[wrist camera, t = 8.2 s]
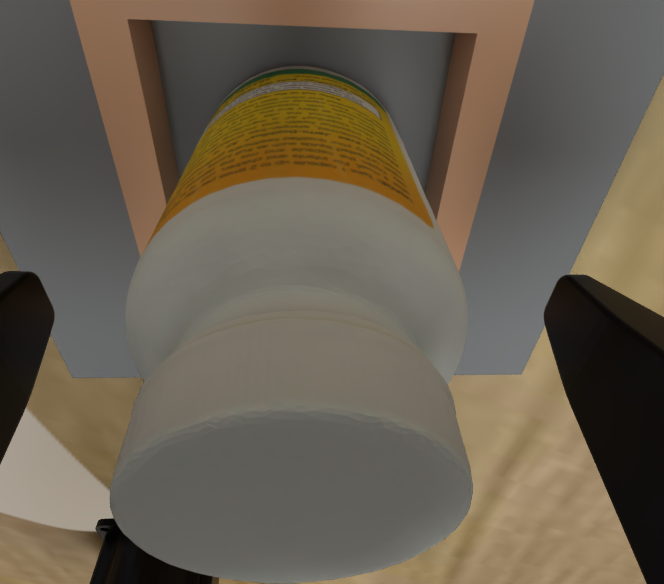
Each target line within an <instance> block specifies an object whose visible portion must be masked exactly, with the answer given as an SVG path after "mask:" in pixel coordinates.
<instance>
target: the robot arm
mask: <svg viewBox="0 0 664 584" xmlns="http://www.w3.org/2000/svg"><path fill="white" fill-rule="evenodd" d="M54 319H55V313H54V308H53V306H52V304H51V302H50V299H49V297H48V295H47V293H46V291H45V289H44V287H43V284H42V282H41V280H40V278H39V277H38V276H37V275H36V274H35V273H33V272H30V271H7V272H4V273H1V274H0V464H1V461H2V459H3V457H4V455H5V453H6V450H7V448H8V446H9V444H10V441H11V439H12V437H13V435H14V433H15V431H16V428H17V426H18V424H19V422H20V419H21V417H22V415H23V413H24V410H25V408H26V406H27V403H28V401H29V398H30V395H31V393H32V390H33V387H34V384H35V381H36V378H37V375H38V371H39V368H40V365H41V362H42V359H43V356H44V353H45V349H46V346H47V343H48V340H49V337H50V334H51V331H52V327H53V324H54ZM544 323H545V327H546V330H547V334H548V337H549V340H550V344H551V347H552V350H553V354H554V357H555V360H556V364H557V367H558V370H559V374H560V377H561V380H562V383H563V386H564V389H565V392H566V395H567V398H568V400H569V403H570V405H571V408H572V410H573V412H574V415H575V417H576V419H577V422H578V424H579V426H580V429H581V431H582V433H583V436H584V438H585V441H586V443H587V445H588V448H589V450H590V452H591V455H592V457H593V459H594V462H595V464H596V466H597V469H598V471H599V473H600V476H601V478H602V480H603V483H604V485H605V487H606V490H607V492H608V494H609V497H610V499H611V501H612V504H613V506H614V508H615V511H616V513H617V515H618V518H619V520H620V522H621V525H622V527H623V529H624V532H625V534H626V536H627V539H628V541H629V544H630V546H631V548H632V551H633V553H634V555H635V558H636V560H637V562H638V565H639V567H640V569H641V572H642V574H643V576H644V579H645V581H646V583H647V584H664V317H663V316H661V315H659V314H657V313H655V312H653V311H652V310H650V309H648V308H646V307H644V306H642V305H641V304H639V303H637V302H635V301H633V300H632V299H630V298H628V297H626V296H624V295H622V294H621V293H619V292H617V291H615V290H613V289H611V288H610V287H608V286H606V285H604V284H602V283H600V282H599V281H597V280H595V279H593V278H591V277H589V276H587V275H564V276H562V277H560V278H559V279H558V281H557V283H556V285H555V287H554V289H553V292H552V294H551V296H550V298H549V300H548V303H547V305H546V307H545V310H544ZM96 531H97V532H98V534H99V535H100V537H101V538H102V540H103V544H102V547H101V550H100V553H99V556H98V559H97V562H96V566H95V569H94V572H93V575H92V578H91V581H90V584H219V578H218V577H213V576H208V575H204V574H200V573H195V572H192V571H189V570H185V569H182V568H179V567H176V566H173V565H170V564H168V563H166V562H164V561H162V560H160V559H157V558H155V557H154V556H152V555H150V554H148V553H146V552H145V551H144V550H142V549H141V548H139V547H138V546H137V545H135V544H134V543H133V542H132V541H131V540H130V539H129V538H128V537H127V536H125V535H124V534H123V532H122V531H121V529H120V528H119V526H118V525H117V523H116V521H115V520H114V519H101V520H99V521H98V523H97V526H96Z"/></svg>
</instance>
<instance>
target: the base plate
mask: <svg viewBox="0 0 664 584" xmlns="http://www.w3.org/2000/svg"><path fill="white" fill-rule="evenodd" d="M286 66H310V67H317V68H321V69H326V70H329V71H332V72H335V73H338V74H340V75H343V76H345V77H347V78H349V79H352V80H353V81H355V82H357V83H359V84H360V85H362V86H363V87H364V88H366V89H367V90H368V91H369V92H371V93H372V94H373V95H374V96H375V97H376V98H377V100H378V101H379V102H380V103H381V104H382V105H383V107H384V108H385V109H386V111H387V112H388V113H389V115H390V117H391V118H392V120H393V122H394V124H395V126H396V128H397V131H398V133H399V135H400V137H401V139H402V141H403V143H404V145H405V149H406V151H407V154H408V156H409V158H410V161H411V163H412V165H413V168H414V170H415V172H416V175H417V177H418V179H419V182H420V184H421V187H422V189H423V191H424V194H425V196H426V198H427V200H428V203H429V205H430V207H431V209H432V211H433V214H434V216H435V219H436V221H437V223H438V226H439V228H440V230H441V233H442V235H443V237H444V239H445V241H446V244H447V246H448V248H449V250H450V253H451V255H452V257H453V259H454V262H455V264H456V267H457V269H458V272H459V274H460V277H461V279H462V282H463V286H464V290H465V295H466V300H467V308H468V327H467V337H466V342H465V346H464V351H463V354H462V357H461V359H460V362H459V365H458V367H457V369H456V371H455V373H454V375H512V374H522V372H523V370H524V368H525V366H526V364H527V362H528V360H529V358H530V355H531V353H532V351H533V349H534V347H535V345H536V343H537V341H538V339H539V336H540V334H541V332H542V330H543V328H544V326H545V323H544V310H545V307H546V305H547V303H548V300H549V298H550V296H551V294H552V292H553V289H554V287H555V285H556V283H557V281H558V279H559V278H560V277H562V276H564V275H569V273H570V271H571V269H572V267H573V265H574V262H575V260H576V258H577V256H578V254H579V252H580V250H581V248H582V246H583V243H584V241H585V239H586V237H587V235H588V233H589V231H590V229H591V227H592V224H593V222H594V220H595V218H596V216H597V214H598V212H599V210H600V207H601V205H602V203H603V201H604V199H605V197H606V195H607V193H608V191H609V188H610V186H611V184H612V182H613V180H614V178H615V176H616V174H617V172H618V169H619V167H620V165H621V163H622V161H623V159H624V157H625V155H626V153H627V150H628V148H629V146H630V144H631V142H632V140H633V138H634V136H635V134H636V131H637V129H638V127H639V125H640V123H641V121H642V119H643V117H644V115H645V112H646V110H647V108H648V106H649V104H650V102H651V100H652V98H653V95H654V93H655V91H656V89H657V87H658V85H659V83H660V81H661V79H662V76H663V74H664V0H0V233H1V235H2V237H3V239H4V241H5V243H6V245H7V247H8V249H9V251H10V253H11V255H12V257H13V259H14V261H15V263H16V265H17V267H18V269H19V271H30V272H33V273H35V274H36V275H37V276H38V277H39V278H40V280H41V282H42V284H43V287H44V289H45V291H46V293H47V295H48V297H49V299H50V302H51V304H52V306H53V308H54V313H55V319H54V324H53V327H52V331H51V336H52V338H53V340H54V342H55V344H56V346H57V348H58V350H59V352H60V354H61V356H62V358H63V360H64V362H65V364H66V366H67V368H68V370H69V372H70V374H71V376H72V378H127V377H141V376H140V374H139V372H138V370H137V368H136V365H135V363H134V361H133V359H132V356H131V353H130V350H129V346H128V341H127V335H126V325H125V309H126V301H127V295H128V290H129V286H130V283H131V279H132V276H133V273H134V271H135V268H136V266H137V264H138V261H139V259H140V257H141V255H142V253H143V251H144V249H145V247H146V245H147V243H148V241H149V239H150V238H151V236H152V234H153V232H154V230H155V228H156V226H157V224H158V222H159V220H160V218H161V216H162V214H163V212H164V210H165V208H166V206H167V204H168V202H169V200H170V198H171V196H172V194H173V192H174V190H175V188H176V186H177V184H178V182H179V180H180V178H181V176H182V174H183V172H184V170H185V168H186V166H187V164H188V162H189V160H190V158H191V157H192V155H193V153H194V150H195V148H196V146H197V144H198V142H199V140H200V138H201V136H202V134H203V133H204V131H205V129H206V127H207V125H208V123H209V121H210V119H211V118H212V116H213V115H214V113H215V111H216V109H217V108H218V106H219V105H220V103H221V102H222V101H223V100H224V99H225V98H226V97H227V95H228V94H229V93H230V92H232V91H233V90H234V89H235V88H236V87H238V86H239V85H240V84H242V83H243V82H245V81H246V80H248V79H249V78H251V77H253V76H256V75H258V74H260V73H262V72H265V71H268V70H271V69H275V68H279V67H286Z"/></svg>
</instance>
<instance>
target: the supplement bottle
mask: <svg viewBox="0 0 664 584" xmlns="http://www.w3.org/2000/svg"><path fill="white" fill-rule="evenodd" d="M125 325H126V335H127V341H128V346H129V350H130V353H131V356H132V359H133V361H134V363H135V365H136V368H137V370H138V372H139V374H140V376H141V378H142V379H143V381H144V383H143V385H142V386H141V388H140V391H139V394H138V396H137V398H136V400H135V402H134V406H133V411H132V416H131V420H130V424H129V427H128V430H127V433H126V436H125V439H124V442H123V445H122V448H121V451H120V454H119V457H118V461H117V464H116V468H115V471H114V475H113V479H112V483H111V488H110V508H111V511H112V514H113V517H114V520H115V521H116V523H117V525H118V526H119V528H120V529H121V531H122V532H123V534H124V535H125V536H127V537H128V538H129V539H130V540H131V541H132V542H133V543H134V544H135V545H137V546H138V547H139V548H141V549H142V550H144V551H145V552H146V553H148V554H150V555H152V556H154V557H155V558H157V559H160V560H162V561H164V562H166V563H168V564H170V565H173V566H176V567H179V568H182V569H185V570H189V571H192V572H195V573H200V574H204V575H208V576H213V577H218V578H223V579H232V580H238V581H250V582H260V583H300V582H315V581H322V580H334V579H339V578H345V577H351V576H355V575H359V574H364V573H370V572H374V571H377V570H381V569H384V568H387V567H389V566H392V565H396V564H399V563H402V562H404V561H406V560H409V559H411V558H413V557H415V556H417V555H419V554H421V553H422V552H424V551H426V550H428V549H429V548H431V547H433V546H434V545H436V544H437V543H439V542H441V541H442V540H444V539H445V538H446V537H447V536H448V535H449V534H450V533H452V532H453V531H455V530H456V528H457V527H458V526H459V525H460V523H461V522H462V520H463V519H464V517H465V516H466V515H467V512H468V510H469V508H470V504H471V499H472V494H473V483H472V477H471V470H470V465H469V462H468V458H467V455H466V451H465V448H464V444H463V440H462V437H461V433H460V429H459V426H458V422H457V418H456V411H455V406H454V400H453V397H452V394H451V392H450V390H449V387H448V383H449V382H450V380H451V378H452V377H453V375H454V373H455V371H456V369H457V367H458V365H459V362H460V359H461V357H462V354H463V351H464V346H465V342H466V337H467V327H468V308H467V300H466V295H465V290H464V286H463V282H462V279H461V277H460V274H459V272H458V269H457V267H456V264H455V262H454V259H453V257H452V255H451V253H450V250H449V248H448V246H447V244H446V241H445V239H444V237H443V235H442V233H441V230H440V228H439V226H438V223H437V221H436V219H435V216H434V214H433V211H432V209H431V207H430V205H429V203H428V200H427V198H426V196H425V194H424V191H423V189H422V187H421V184H420V182H419V179H418V177H417V175H416V172H415V170H414V168H413V165H412V163H411V161H410V158H409V156H408V154H407V151H406V149H405V145H404V143H403V141H402V139H401V137H400V135H399V133H398V131H397V128H396V126H395V124H394V122H393V120H392V118H391V117H390V115H389V113H388V112H387V111H386V109H385V108H384V107H383V105H382V104H381V103H380V102H379V101H378V100H377V98H376V97H375V96H374V95H373V94H372V93H371V92H369V91H368V90H367V89H366V88H364V87H363V86H362V85H360V84H359V83H357V82H355V81H353V80H352V79H349V78H347V77H345V76H343V75H340V74H338V73H335V72H332V71H329V70H326V69H321V68H317V67H310V66H286V67H279V68H275V69H271V70H268V71H265V72H262V73H260V74H258V75H256V76H253V77H251V78H249V79H248V80H246V81H245V82H243V83H242V84H240V85H239V86H238V87H236V88H235V89H234V90H233V91H232V92H230V93H229V94H228V95H227V97H226V98H225V99H224V100H223V101H222V102H221V103H220V105H219V106H218V108H217V109H216V111H215V113H214V115H213V116H212V118H211V119H210V121H209V123H208V125H207V127H206V129H205V131H204V133H203V134H202V136H201V138H200V140H199V142H198V144H197V146H196V148H195V150H194V153H193V155H192V157H191V158H190V160H189V162H188V164H187V166H186V168H185V170H184V172H183V174H182V176H181V178H180V180H179V182H178V184H177V186H176V188H175V190H174V192H173V194H172V196H171V198H170V200H169V202H168V204H167V206H166V208H165V210H164V212H163V214H162V216H161V218H160V220H159V222H158V224H157V226H156V228H155V230H154V232H153V234H152V236H151V238H150V239H149V241H148V243H147V245H146V247H145V249H144V251H143V253H142V255H141V257H140V259H139V261H138V264H137V266H136V268H135V271H134V273H133V276H132V279H131V283H130V286H129V290H128V295H127V301H126V309H125Z"/></svg>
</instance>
